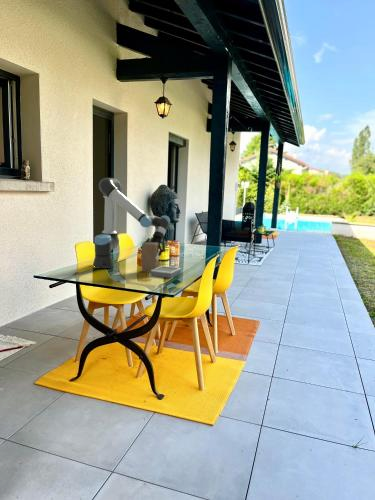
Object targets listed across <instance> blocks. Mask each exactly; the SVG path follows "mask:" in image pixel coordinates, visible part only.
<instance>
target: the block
mask: <svg viewBox="0 0 375 500" xmlns="http://www.w3.org/2000/svg"><path fill="white" fill-rule="evenodd" d="M158 245H159V243H158V242H146V241H145V242H143V243H142V244H141V246H142V250H141V251H142V259H141V271H142V272H144V273H151V270H153V269H155V268H158V267H160V263H159V262H160V261H159V260H160V259H159V258H160V257H159V258H158V260H156V255H157V253H158V251H160V249H159V246H158Z"/></svg>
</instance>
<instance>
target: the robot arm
mask: <svg viewBox="0 0 375 500" xmlns="http://www.w3.org/2000/svg"><path fill="white" fill-rule="evenodd" d="M98 187H99V188H98V189H99V190H100V192H101V193H102V197H103V198H104V219H103V221H104V222H103V224H104V225H103V230H102V231H101V234H97V235H95V236H94V260H93V262H92V266H93V265H94V266H95V267H99V268H108V269H112V268H114V267H115V263H114V260H113V257H112V250H114V249H116V248H117V247H118V245H119V243H120V239H119V236H118V232H117V229H116V227H117V226H116V224H117V204H118V206H120V208H122V209H123V210H125V212H127V213H128V214H129V215H130V216H131V217H133V218H134V219H135V220H136V221H138V222H139V224H140V226H141V227H143V228H150V227H151V226H152V227H155V230H154V233H153V234H152V237H151V238H149V237H148V238H147V239H146V241H145V242H158V243H159V245H158V246H159V251H158V253H157V255H156V260H158V258H160V256H162V253H166V239H164V237H165V234H166V233H167V229H168V228H169V225H170V222H171V219H170V217H169V216H167V215H162V216H160V217H159V216H156V215H152V214H150V213H145V211H143V210H142V209H141V208H140V207H138V206H137V205H136V204H135V203H134V202H133V201H131V200H130V199H129V198H128V197H127V196H125V194H123V192H121V188H122V185H121V183H120V181H119V180H118V179H116V178H113V177H105V178H102V179H101V180H100V181H99V183H98ZM161 244H162V245H161ZM140 250H141V251H140V254H139V257H140V259H141V260H142V245H141V246H140Z"/></svg>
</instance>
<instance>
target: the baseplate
mask: <svg viewBox="0 0 375 500" xmlns="http://www.w3.org/2000/svg"><path fill="white" fill-rule="evenodd" d="M180 273H181V274H182V268H181V267H174V266H167V265H161V266H160V265H159V267H158V268H155V269H153V270H151V272H150V276H152V277H159V278H160V277H161V278H169V279H173V278H174V277H176V276H178V274H179V275H181V274H180Z"/></svg>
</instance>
